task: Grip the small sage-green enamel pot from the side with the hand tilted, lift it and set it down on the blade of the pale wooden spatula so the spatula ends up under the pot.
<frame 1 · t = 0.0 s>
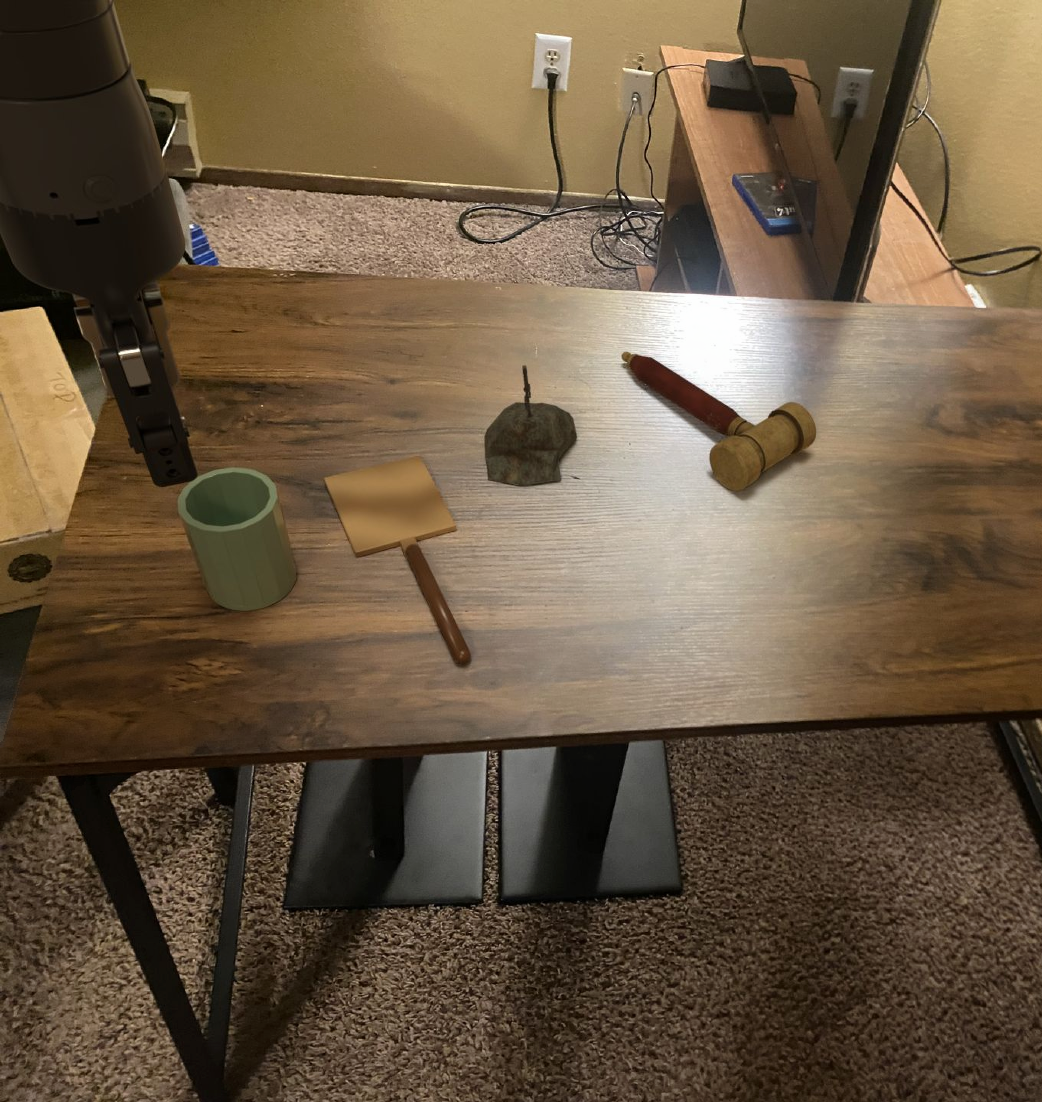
hand: (164, 432, 57), 19 cm above the table, tool pointing down, fingers open, 8 cm apart
pot: (252, 579, 74), on the table
sword in stone: (528, 449, 89), on the table
gavel: (696, 419, 95), on the table
spatula: (390, 506, 81), on the table
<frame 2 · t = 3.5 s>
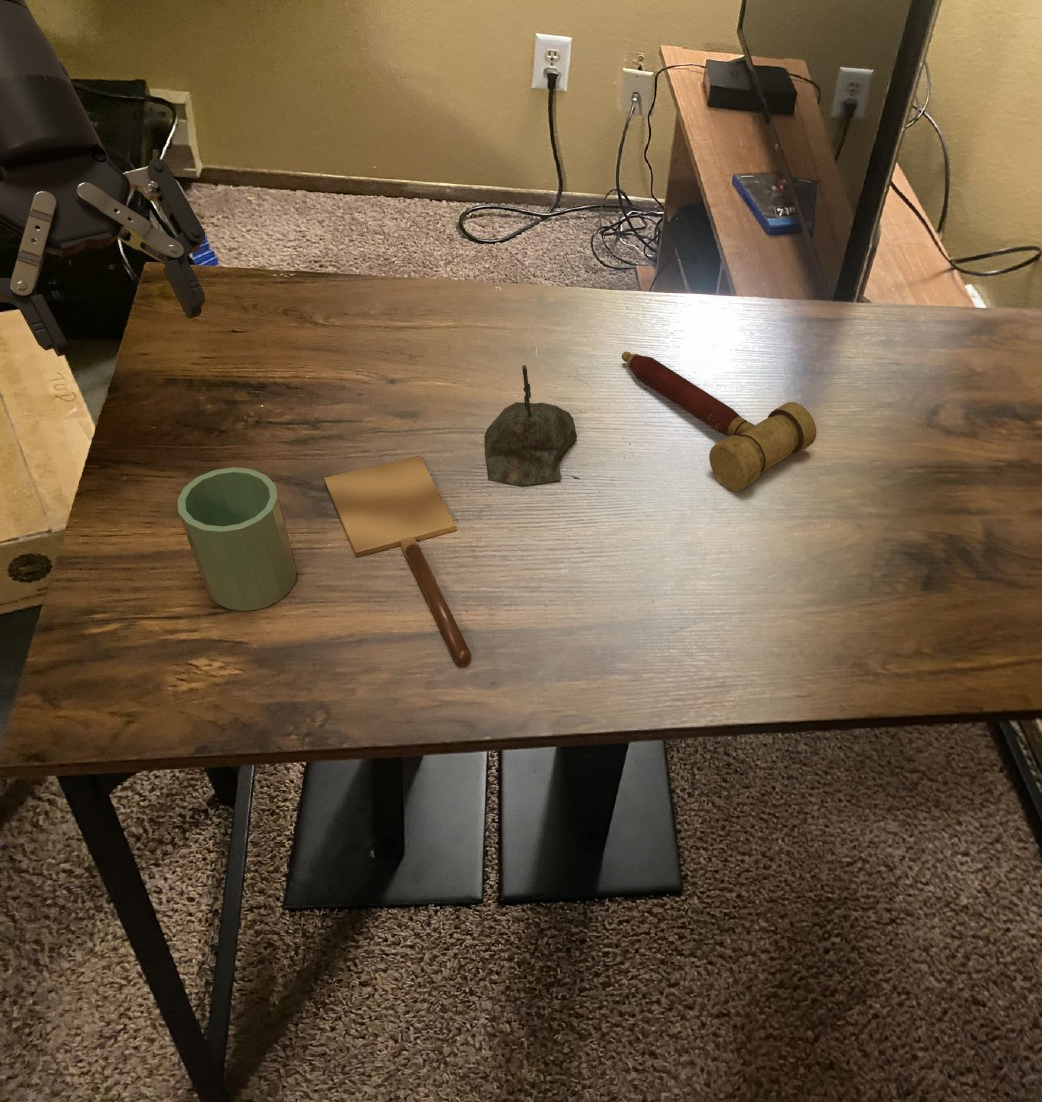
hand: (131, 333, 68), 15 cm above the table, tool tilted 45°, fingers open, 8 cm apart
nothing on the table moved.
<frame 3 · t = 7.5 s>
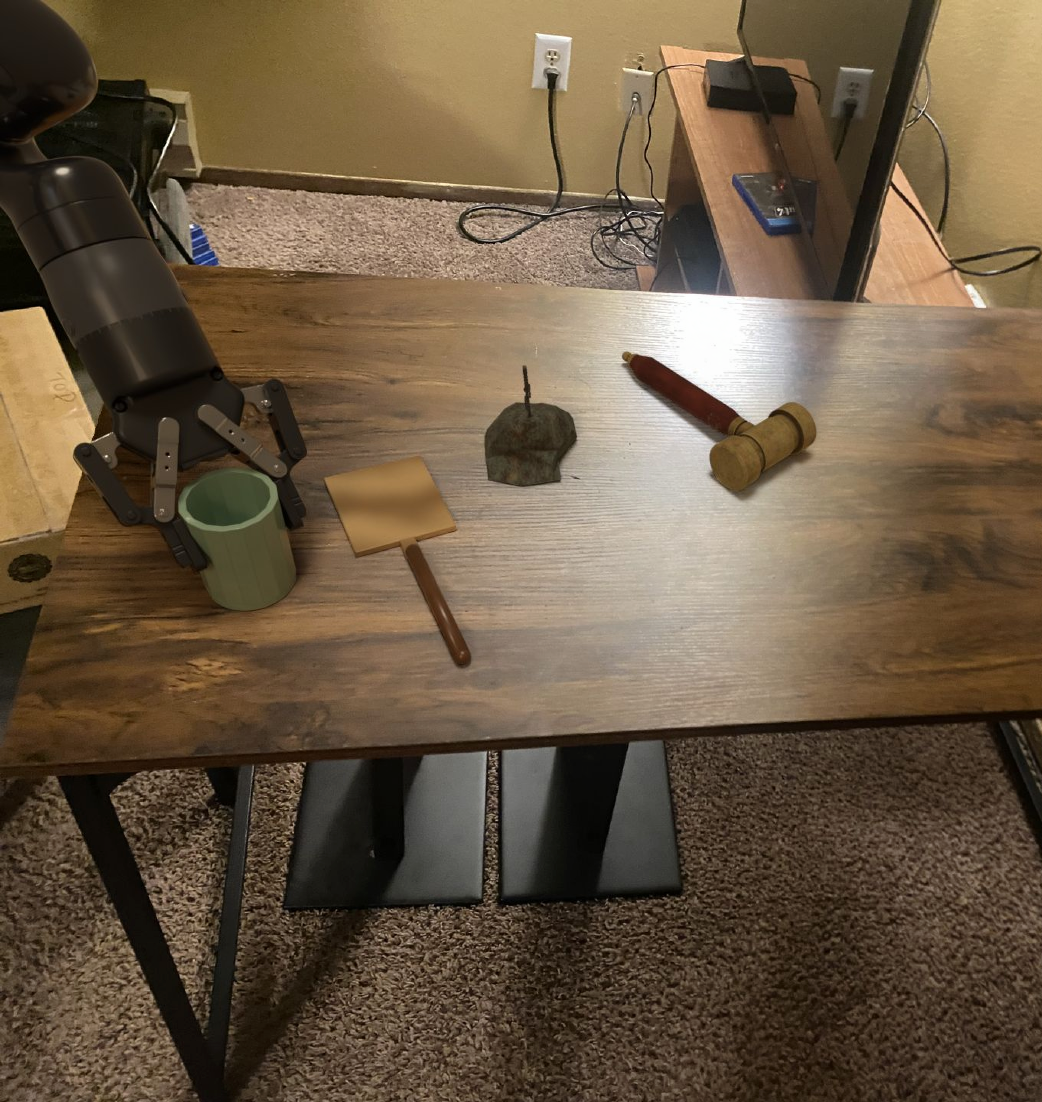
hand: (249, 548, 70), 5 cm above the table, tool tilted 45°, fingers closed on pot, 6 cm apart
pot: (252, 578, 74), on the table, touching gripper
everything else where it was.
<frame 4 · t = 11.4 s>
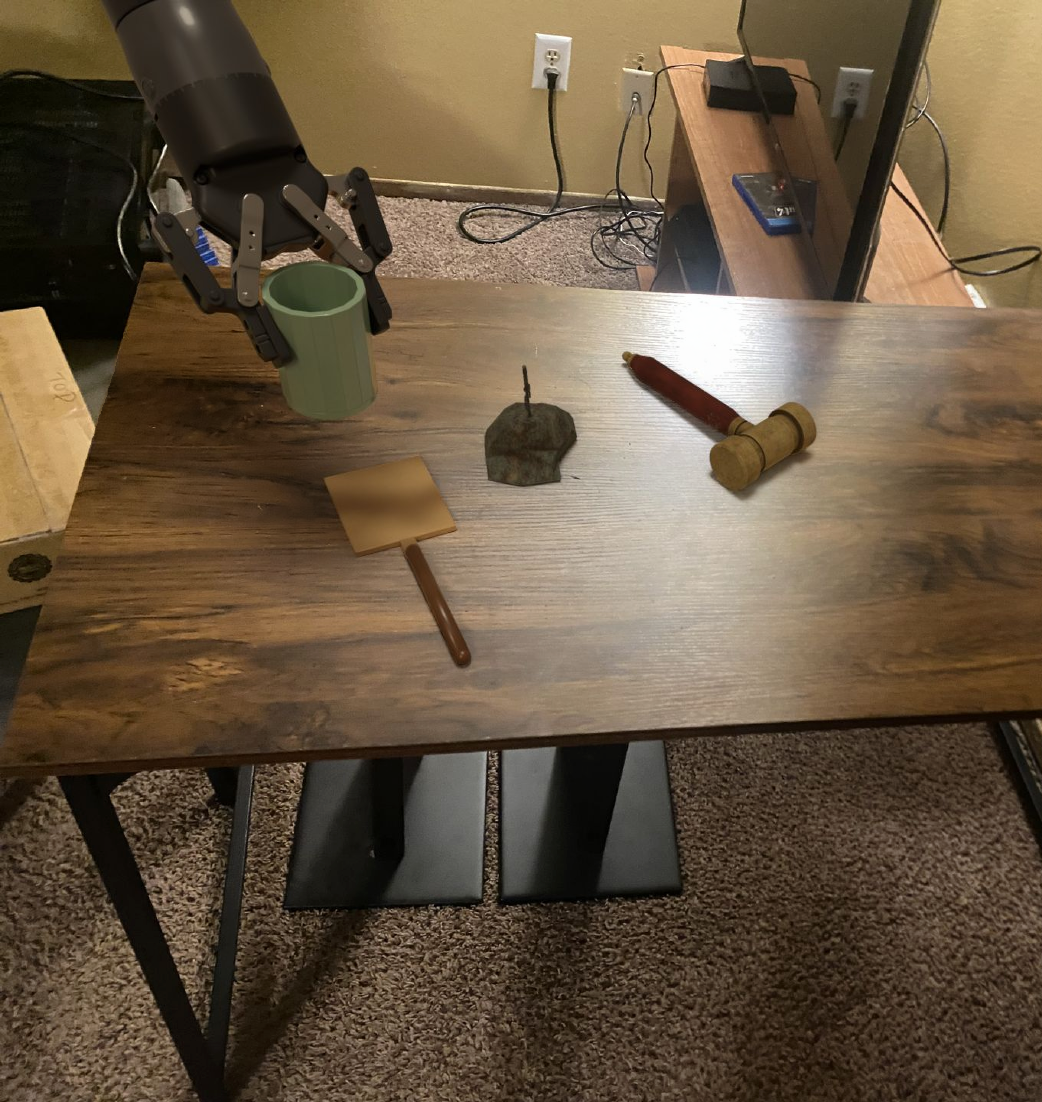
hand: (333, 347, 66), 18 cm above the table, tool tilted 45°, fingers closed on pot, 6 cm apart
pot: (331, 391, 70), point 13 cm above the table, touching gripper
everything else where it was.
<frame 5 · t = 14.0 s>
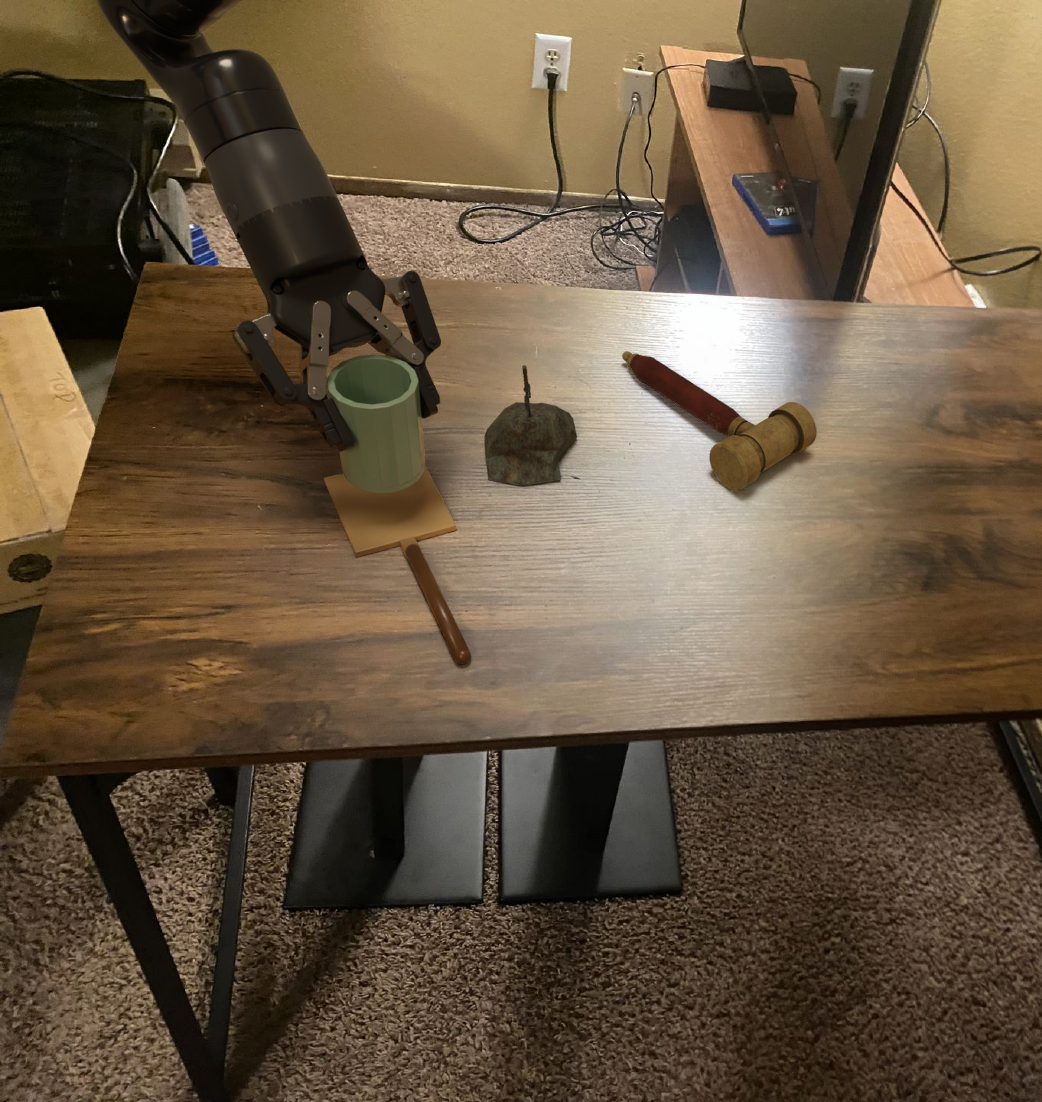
hand: (389, 431, 74), 9 cm above the table, tool tilted 45°, fingers closed on pot, 6 cm apart
pot: (384, 466, 78), point 4 cm above the table, touching gripper
everything else where it was.
when the fingers open (5 cm above the table, at t = 15.7 s): pot stays where it is, resting on spatula.
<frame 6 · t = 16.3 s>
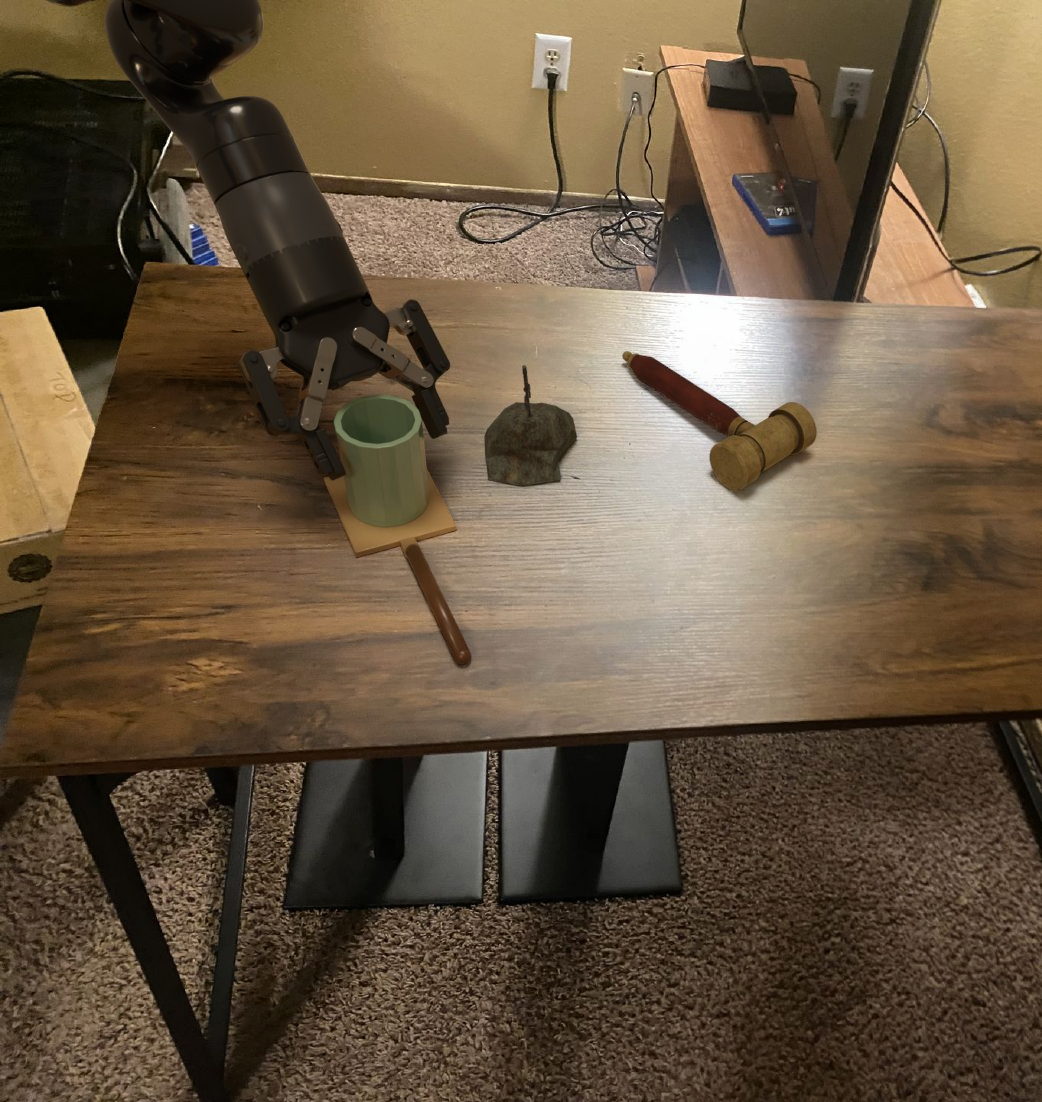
hand: (390, 456, 76), 6 cm above the table, tool tilted 45°, fingers open, 8 cm apart
pot: (388, 500, 81), point 1 cm above the table, touching spatula
spatula: (390, 506, 81), on the table, touching pot
everything else where it was.
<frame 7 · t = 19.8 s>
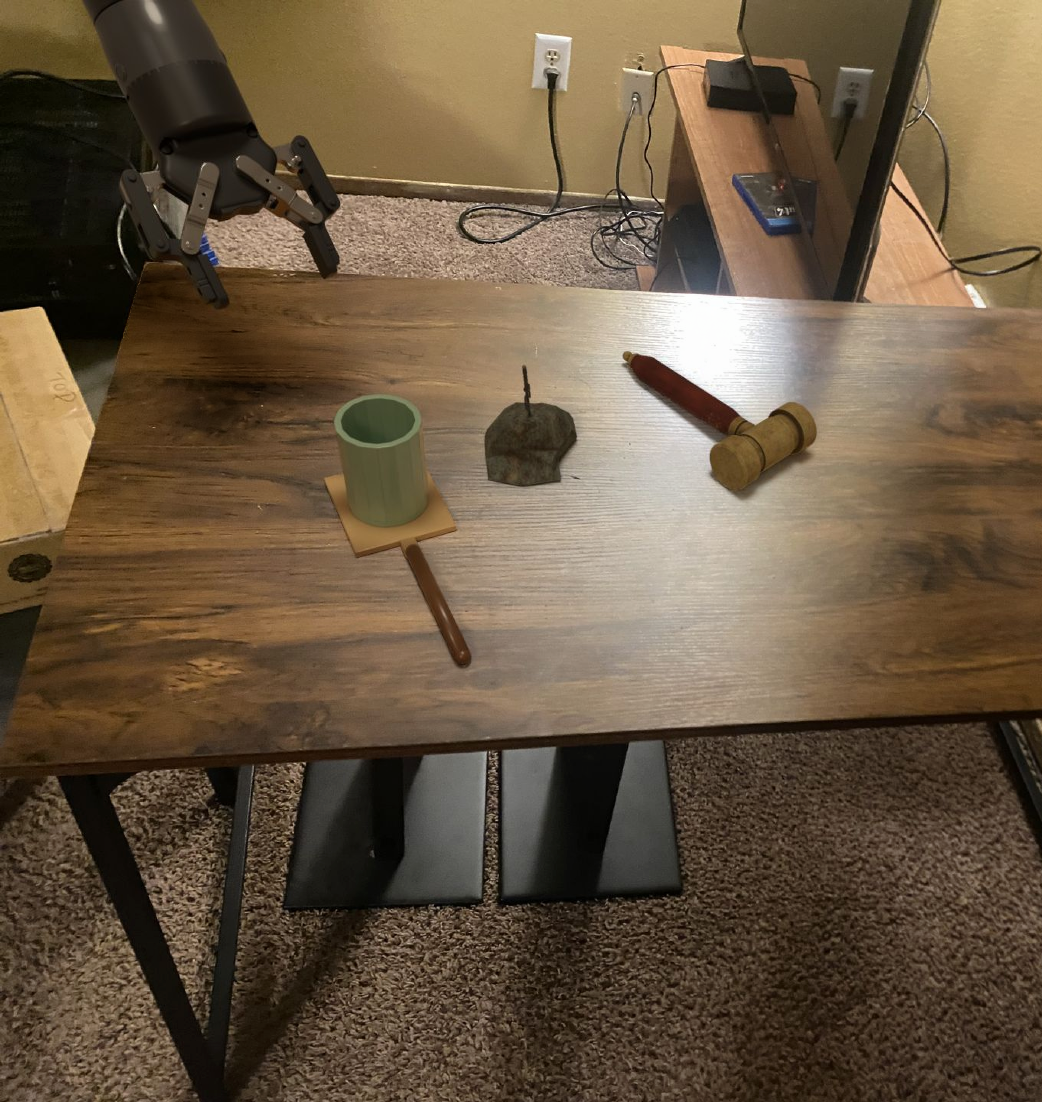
hand: (278, 290, 76), 13 cm above the table, tool tilted 45°, fingers open, 8 cm apart
nothing on the table moved.
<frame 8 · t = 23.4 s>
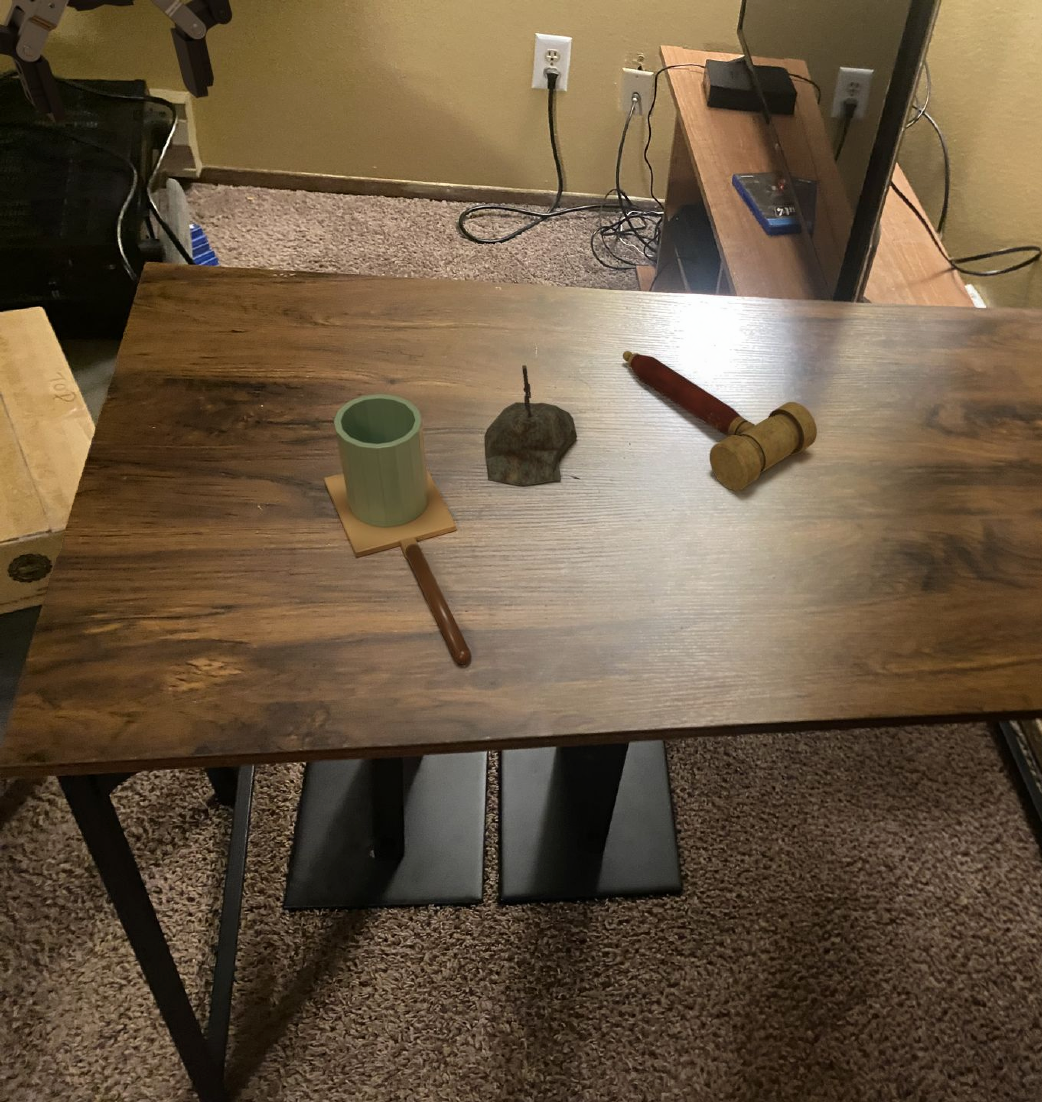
hand: (128, 104, 63), 28 cm above the table, tool pointing down, fingers open, 8 cm apart
nothing on the table moved.
at the end: pot 0.1 cm off-centre on the spatula, point 0.6 cm above the spatula's base; pot touching spatula; pot tilted 0° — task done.
